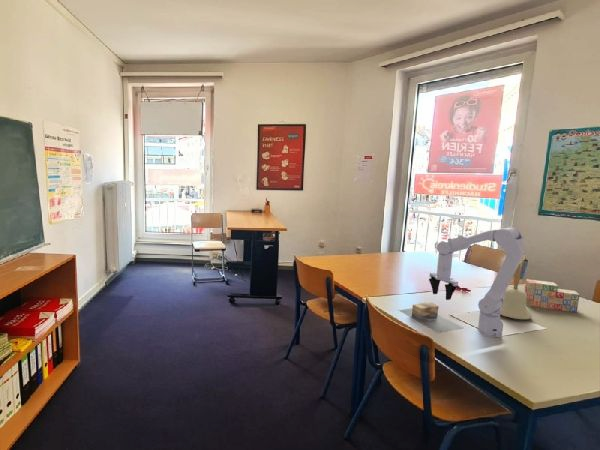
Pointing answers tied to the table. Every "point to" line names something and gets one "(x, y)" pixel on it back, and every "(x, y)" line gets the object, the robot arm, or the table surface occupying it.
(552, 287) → the stack of blocks
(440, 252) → the robot arm
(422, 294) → the table surface
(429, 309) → the felt eraser
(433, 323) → the slate board
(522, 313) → the handbell
